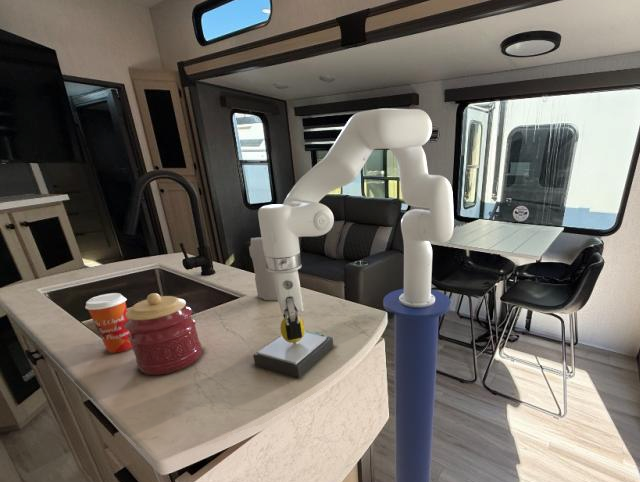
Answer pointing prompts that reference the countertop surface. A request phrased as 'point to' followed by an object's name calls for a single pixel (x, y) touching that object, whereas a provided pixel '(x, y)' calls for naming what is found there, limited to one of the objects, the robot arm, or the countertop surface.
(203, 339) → the countertop surface
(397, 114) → the robot arm
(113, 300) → the paper cup
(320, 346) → the scale
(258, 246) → the grey stone slab
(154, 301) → the kitchen canister
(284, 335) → the lemon
